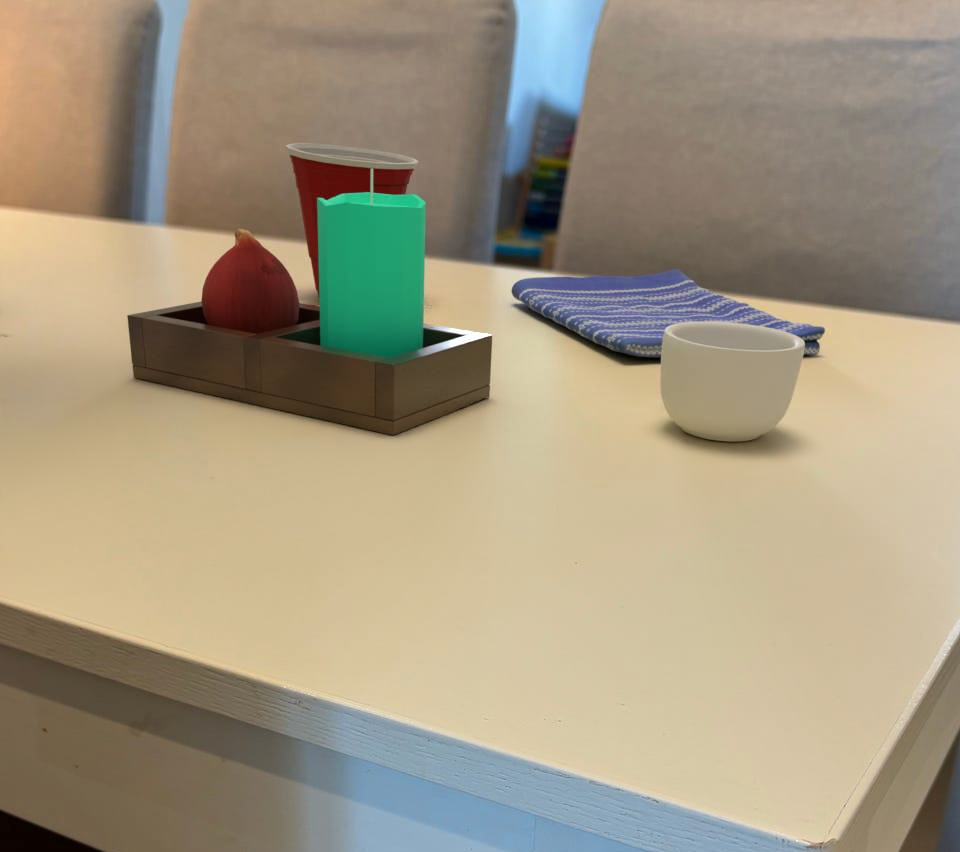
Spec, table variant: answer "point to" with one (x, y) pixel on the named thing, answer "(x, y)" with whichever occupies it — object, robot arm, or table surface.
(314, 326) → the tray
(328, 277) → the candle
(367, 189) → the plastic cup
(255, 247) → the onion
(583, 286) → the dish towel
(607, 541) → the table surface
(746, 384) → the teacup
